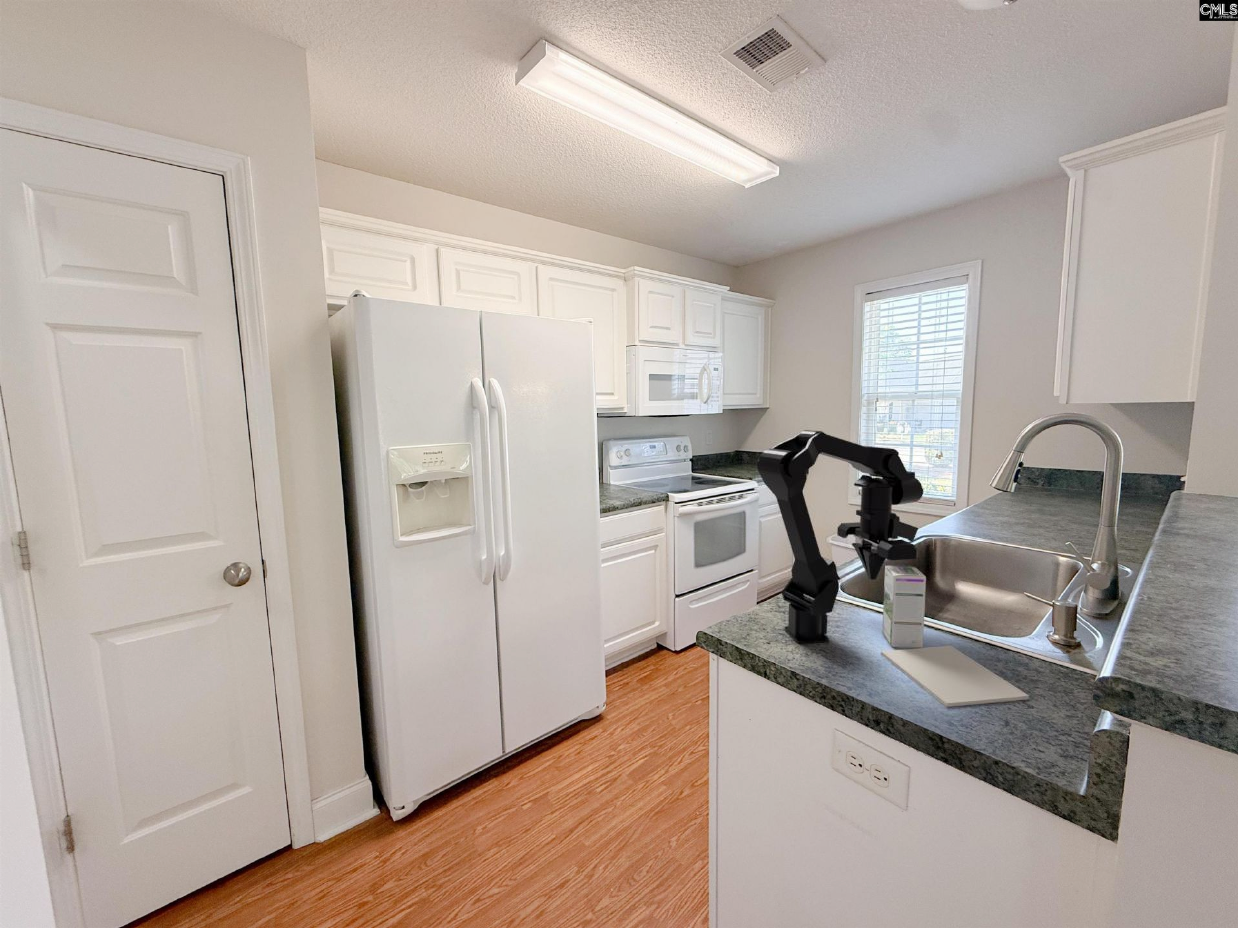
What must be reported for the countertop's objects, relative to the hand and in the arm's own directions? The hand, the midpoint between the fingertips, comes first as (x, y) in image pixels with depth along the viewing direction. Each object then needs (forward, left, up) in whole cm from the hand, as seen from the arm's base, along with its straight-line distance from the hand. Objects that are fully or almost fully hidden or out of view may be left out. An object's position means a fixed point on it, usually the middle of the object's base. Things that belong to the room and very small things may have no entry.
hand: (872, 579), depth 106 cm
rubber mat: (0, -22, -9) cm, 24 cm away
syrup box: (0, -10, -9) cm, 14 cm away
